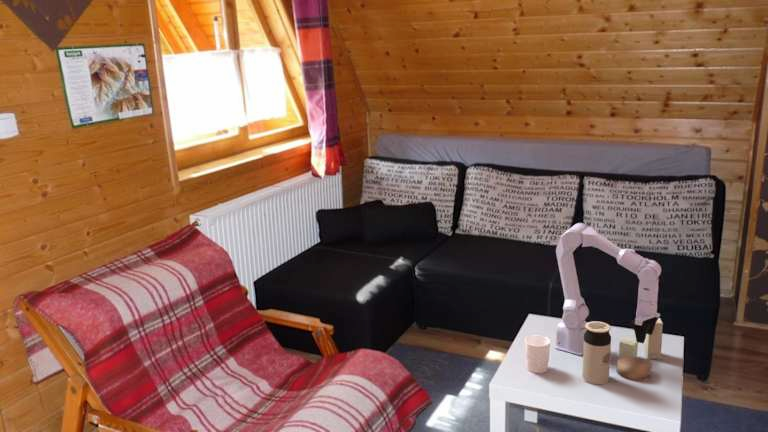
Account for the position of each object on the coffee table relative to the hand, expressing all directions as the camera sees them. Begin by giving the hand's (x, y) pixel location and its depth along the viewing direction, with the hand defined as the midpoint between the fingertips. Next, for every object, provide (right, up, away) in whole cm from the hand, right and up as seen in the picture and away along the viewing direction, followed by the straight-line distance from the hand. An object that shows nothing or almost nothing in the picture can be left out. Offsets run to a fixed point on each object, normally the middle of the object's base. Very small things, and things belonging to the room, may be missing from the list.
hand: (644, 337), depth 206 cm
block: (-2, -8, +8) cm, 11 cm away
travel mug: (-17, -12, -5) cm, 22 cm away
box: (+6, -8, +8) cm, 13 cm away
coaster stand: (-4, -11, -2) cm, 12 cm away
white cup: (-34, -11, +3) cm, 36 cm away
